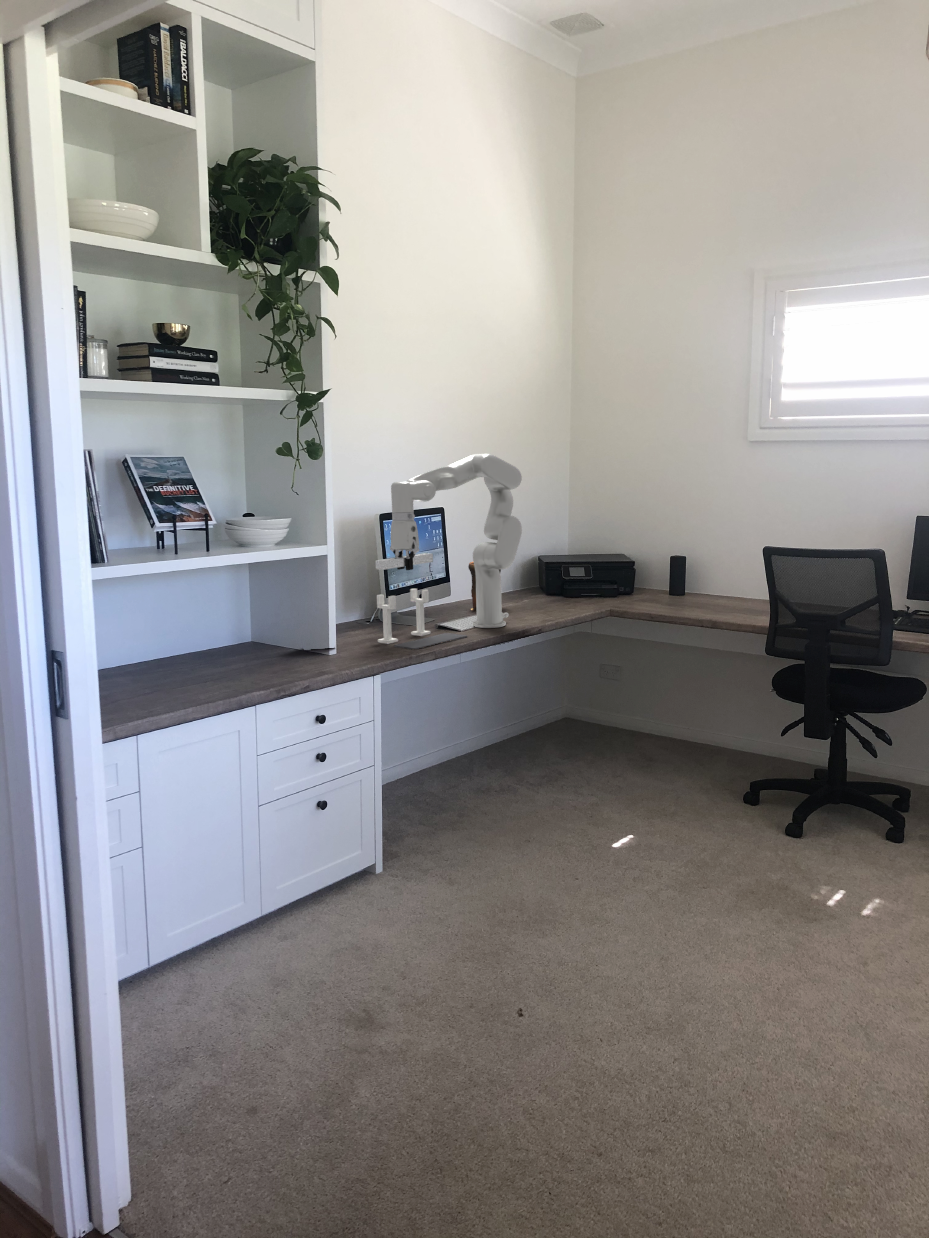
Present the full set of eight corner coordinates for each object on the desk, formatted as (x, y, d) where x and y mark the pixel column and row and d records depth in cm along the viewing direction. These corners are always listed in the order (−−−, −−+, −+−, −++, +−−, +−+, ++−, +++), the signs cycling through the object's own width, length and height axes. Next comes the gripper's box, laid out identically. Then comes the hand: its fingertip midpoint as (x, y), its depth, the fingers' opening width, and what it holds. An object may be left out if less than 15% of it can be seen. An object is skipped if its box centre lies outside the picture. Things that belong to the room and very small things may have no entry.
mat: (446, 634, 346) (446, 632, 346) (467, 637, 339) (467, 635, 339) (394, 646, 325) (394, 645, 325) (415, 650, 319) (415, 648, 319)
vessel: (507, 606, 404) (505, 560, 401) (500, 613, 391) (498, 564, 387) (474, 606, 408) (472, 560, 404) (466, 612, 394) (464, 564, 391)
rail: (425, 561, 346) (425, 553, 345) (432, 561, 344) (432, 553, 343) (375, 569, 327) (375, 560, 327) (382, 569, 325) (382, 561, 325)
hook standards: (418, 632, 351) (417, 588, 348) (432, 634, 347) (431, 589, 344) (375, 642, 335) (373, 595, 332) (389, 644, 330) (388, 597, 327)
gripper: (427, 517, 330) (429, 569, 333) (394, 516, 341) (396, 567, 344) (412, 518, 324) (414, 572, 328) (378, 517, 335) (381, 569, 338)
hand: (405, 568), depth 336 cm, fingers closed on rail, 3 cm apart
